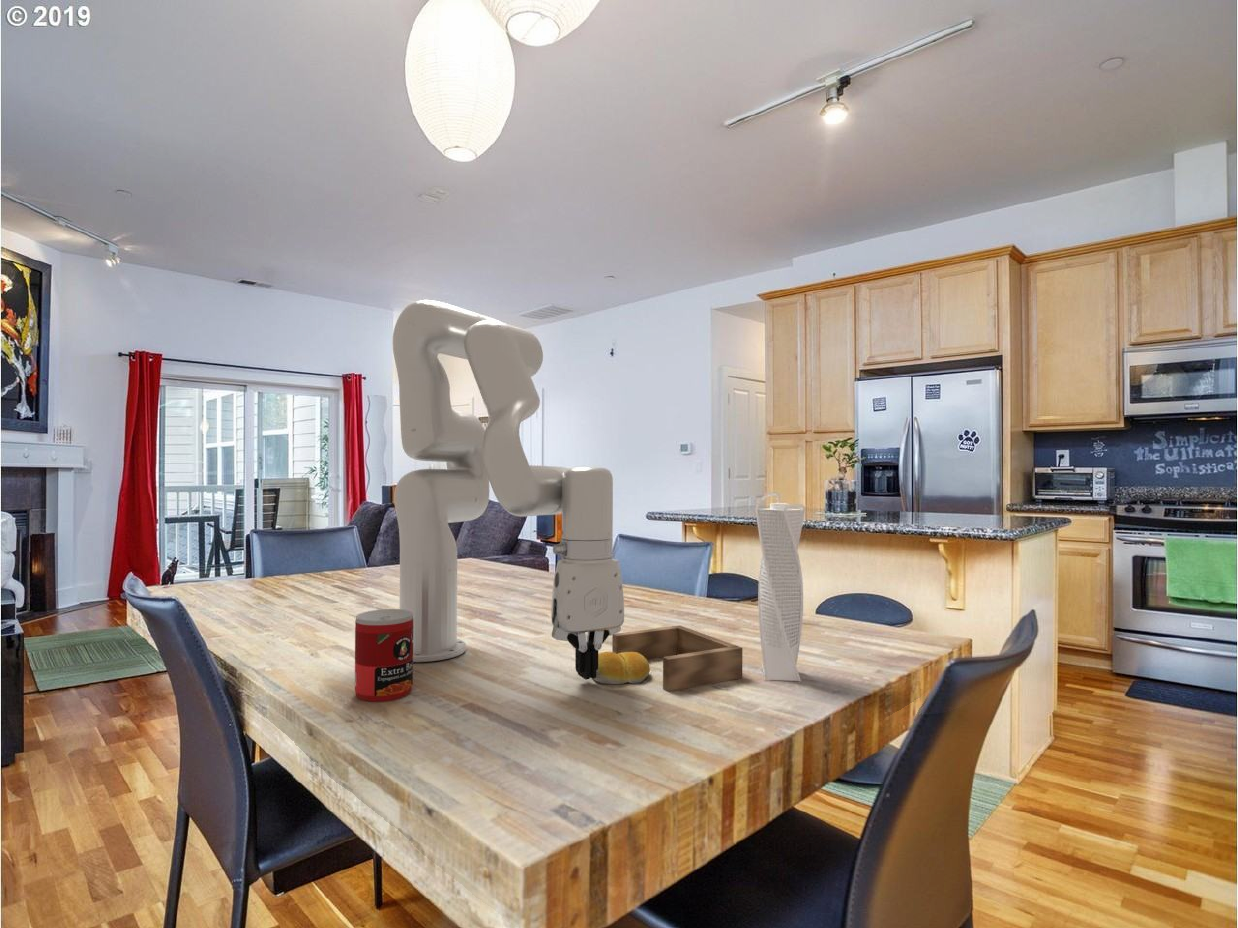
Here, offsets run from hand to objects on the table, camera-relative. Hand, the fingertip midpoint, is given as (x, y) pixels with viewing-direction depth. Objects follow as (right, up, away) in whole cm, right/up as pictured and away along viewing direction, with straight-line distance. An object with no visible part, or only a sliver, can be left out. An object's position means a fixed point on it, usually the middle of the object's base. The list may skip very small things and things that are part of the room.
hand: (586, 676), depth 95 cm
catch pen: (+13, -1, +7) cm, 15 cm away
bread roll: (+5, -2, +4) cm, 6 cm away
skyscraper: (+30, -2, +5) cm, 30 cm away
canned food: (-28, -1, -4) cm, 29 cm away
